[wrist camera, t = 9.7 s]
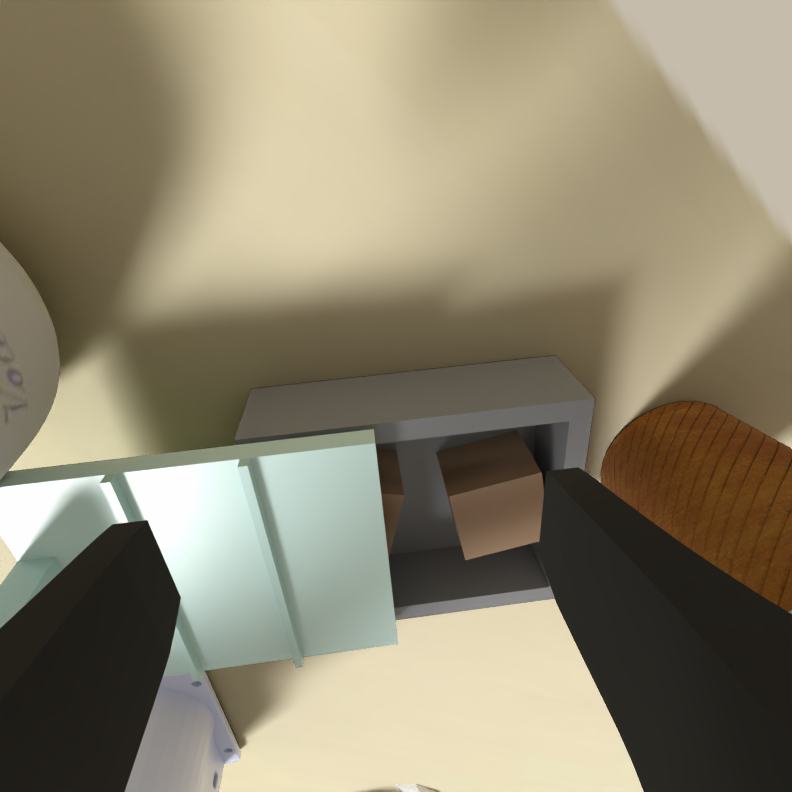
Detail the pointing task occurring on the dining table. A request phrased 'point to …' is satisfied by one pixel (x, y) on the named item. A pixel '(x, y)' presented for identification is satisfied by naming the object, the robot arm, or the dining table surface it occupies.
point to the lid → (226, 543)
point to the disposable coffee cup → (711, 490)
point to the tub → (420, 472)
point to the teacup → (23, 361)
